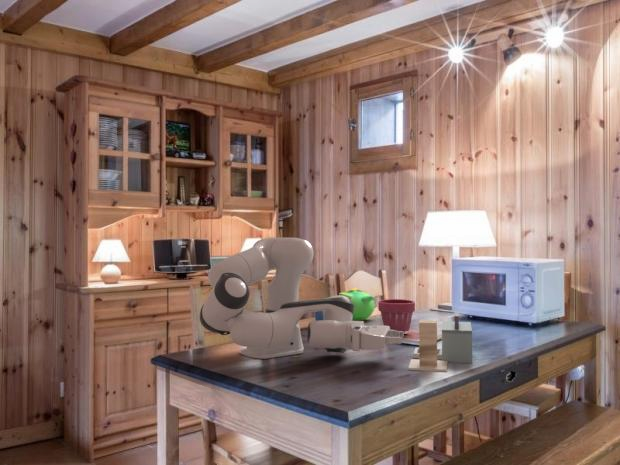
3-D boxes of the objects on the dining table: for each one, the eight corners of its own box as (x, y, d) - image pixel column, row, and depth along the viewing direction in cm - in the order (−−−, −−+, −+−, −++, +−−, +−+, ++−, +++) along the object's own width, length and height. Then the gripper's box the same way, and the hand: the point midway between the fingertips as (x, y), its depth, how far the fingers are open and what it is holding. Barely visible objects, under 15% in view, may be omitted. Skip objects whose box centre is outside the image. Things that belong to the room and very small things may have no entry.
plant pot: (416, 330, 227) (416, 299, 227) (413, 337, 214) (413, 303, 214) (381, 329, 231) (381, 298, 231) (376, 336, 218) (375, 303, 218)
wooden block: (436, 366, 167) (436, 322, 167) (419, 365, 168) (419, 322, 168) (437, 362, 172) (436, 320, 172) (420, 361, 173) (420, 319, 173)
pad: (446, 371, 163) (446, 369, 163) (408, 369, 166) (408, 367, 166) (447, 362, 174) (447, 360, 174) (411, 361, 177) (411, 359, 177)
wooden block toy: (472, 363, 173) (471, 317, 172) (412, 360, 177) (412, 316, 177) (471, 351, 188) (470, 310, 188) (416, 349, 193) (415, 308, 192)
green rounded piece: (372, 317, 262) (371, 286, 261) (377, 323, 245) (377, 290, 245) (333, 318, 261) (332, 286, 261) (336, 324, 244) (335, 290, 244)
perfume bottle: (324, 325, 242) (324, 297, 242) (336, 327, 238) (335, 298, 238) (315, 327, 237) (315, 299, 237) (327, 329, 234) (326, 300, 233)
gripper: (362, 339, 185) (404, 341, 182) (352, 352, 165) (400, 354, 162) (362, 320, 185) (405, 321, 182) (353, 330, 165) (400, 332, 162)
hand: (402, 337), depth 172 cm, fingers open, 8 cm apart
